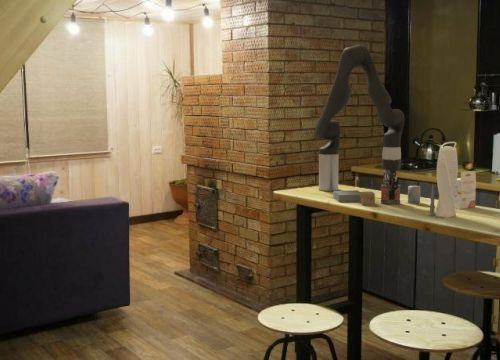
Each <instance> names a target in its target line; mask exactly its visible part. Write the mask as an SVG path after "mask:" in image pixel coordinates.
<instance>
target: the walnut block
mask: <svg viewBox="0 0 500 360" xmlns="http://www.w3.org/2000/svg"><path fill="white" fill-rule="evenodd" d="M375 196H376V194H375V192H373V191H372V190H371V191H370V190H369V191H360V201H359V204H360V205H361V206H376V205H375V204H376V202H375V201H376V200H375V199H376V197H375Z"/></svg>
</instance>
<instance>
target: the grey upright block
mask: <svg viewBox="0 0 500 360" xmlns="http://www.w3.org/2000/svg"><path fill="white" fill-rule="evenodd" d="M419 203H420V204H421V186H420V185H408V186H407V204H410V205H419Z"/></svg>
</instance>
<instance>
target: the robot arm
mask: <svg viewBox="0 0 500 360" xmlns="http://www.w3.org/2000/svg"><path fill="white" fill-rule="evenodd" d="M376 67H377V66H376V65H375V62H374V59H373V58H372V55H371V53H370V51H369V49H368V47H367V46H365V45H363V44H357V45H351V46H347V47H345V48H344V49H343V51H342V52H341V54H340V58H339V62H338V67H337V71H336V73H335V78H334V81H333V82H332V85H331V88H330V91H329V93H328V97H327V99H326V102H325V106H324V108H323V110H322V112H321V114H320V117H319V118H318V120H317V123H316V126H315V130H314V131H315V132H314V133H315V137H316V139H318V140H322V141H324V140H328V142H327V143H326V144H325V145H323V146H321V147H319V150H318V190H319V191H324V192H325V191H327V192H329V191H339V153H340V151H339V150H340V146H341V145H340V143H341V142H340V140H341V125H340V122H339V121H338V120H337V119H334V117H335V116H338V114H339V113H341V111H343V110H344V109H345V108H346V106H348V103H349V101H350V98H351V96H352V90H353V89H352V85H351V83H350V76H351V74H352V72H353V70H354V69H357V68H362V70H363V71H364V74H365V75H366V88H367V94H368V97H369V98H370V99H371V101H372V102H373V105H374V106H375V108H376V109H375V110H376V113H377V115H378V119H379V121H380V123H382V125H383V126H385V127H387V128H388V130H387V132H385V133H384V134H383V137H382V138H383V139H382V155H381V157H382V158H381V161H382V162H381V169H382V170H385V172H383V175H382V176H383V179H388V185H389V190H390V191H389V199H390V200H394V199H395V191H396V190H397V188H398V185H399V179H400V177H399V176H398V173H397V171H399V170H400V169H401V165H402V163H401V162H402V160H401V159H402V151H401V149H402V148H401V141H402V140H401V138H402V134H403V130H404V126H405V118H406V117H405V114H404V112H403V111H402V110H401V109H398V108H393V109H392V107H391V104H392V98H391V95H390V94H389V92H388V91H387V89H386V87H385V86H384V84H383V82H382V80H381V77H380V76H379V73H378V69H377V68H376ZM391 182H392V183H391ZM384 184H386V182H383V185H384ZM393 185H394V187H393Z"/></svg>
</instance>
